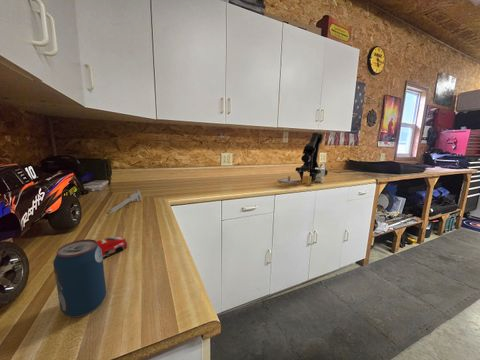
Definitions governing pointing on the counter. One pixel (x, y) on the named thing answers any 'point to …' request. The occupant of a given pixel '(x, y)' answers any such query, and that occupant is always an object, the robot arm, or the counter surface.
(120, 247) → the race car
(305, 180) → the wire nut cap
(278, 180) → the junction plate
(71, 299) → the soda can
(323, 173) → the pneumatic valve
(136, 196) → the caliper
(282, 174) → the counter surface
